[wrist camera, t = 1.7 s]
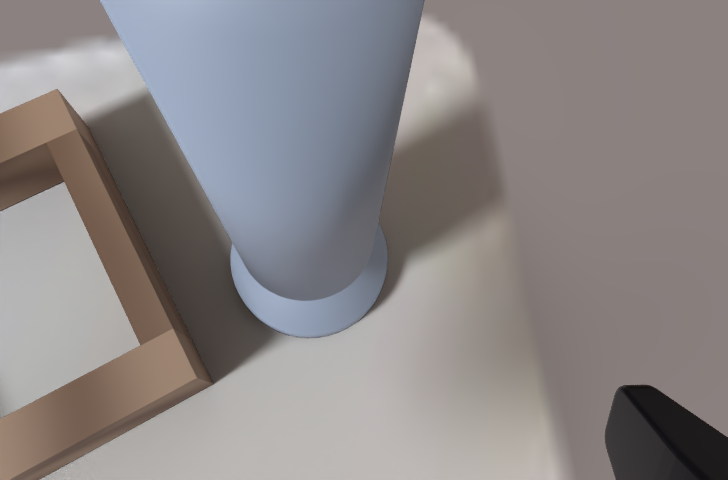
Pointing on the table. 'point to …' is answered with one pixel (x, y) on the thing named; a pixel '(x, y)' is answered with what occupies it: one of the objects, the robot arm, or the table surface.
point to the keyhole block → (130, 280)
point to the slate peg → (285, 137)
